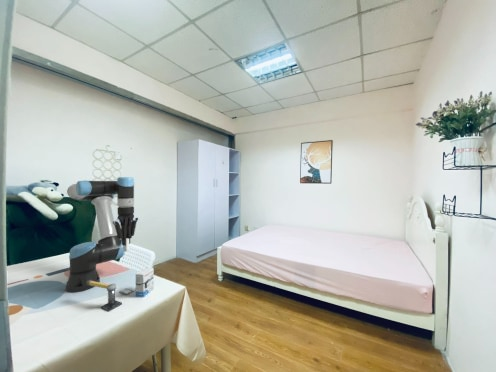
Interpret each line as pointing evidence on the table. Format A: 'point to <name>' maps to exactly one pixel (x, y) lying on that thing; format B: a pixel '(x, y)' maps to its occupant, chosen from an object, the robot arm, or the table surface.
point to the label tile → (126, 292)
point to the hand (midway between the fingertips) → (126, 250)
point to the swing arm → (101, 285)
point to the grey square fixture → (111, 302)
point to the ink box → (144, 281)
